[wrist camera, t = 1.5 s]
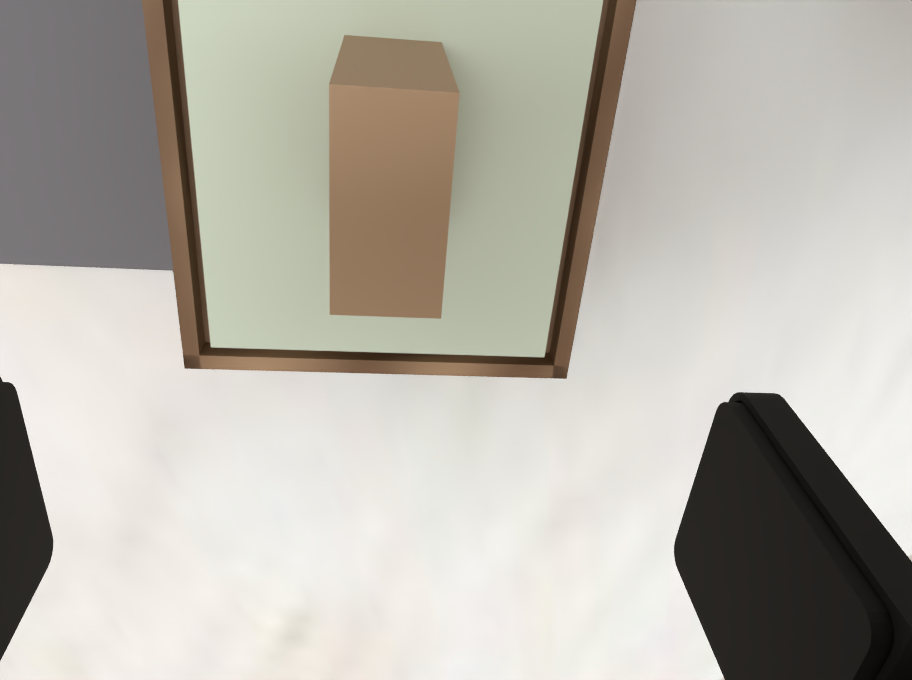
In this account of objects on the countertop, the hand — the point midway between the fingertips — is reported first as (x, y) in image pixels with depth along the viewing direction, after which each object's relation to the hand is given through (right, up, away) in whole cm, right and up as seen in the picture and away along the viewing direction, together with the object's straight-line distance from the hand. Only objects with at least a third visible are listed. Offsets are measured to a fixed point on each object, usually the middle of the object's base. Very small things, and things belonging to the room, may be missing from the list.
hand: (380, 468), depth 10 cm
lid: (-1, +9, +16) cm, 18 cm away
